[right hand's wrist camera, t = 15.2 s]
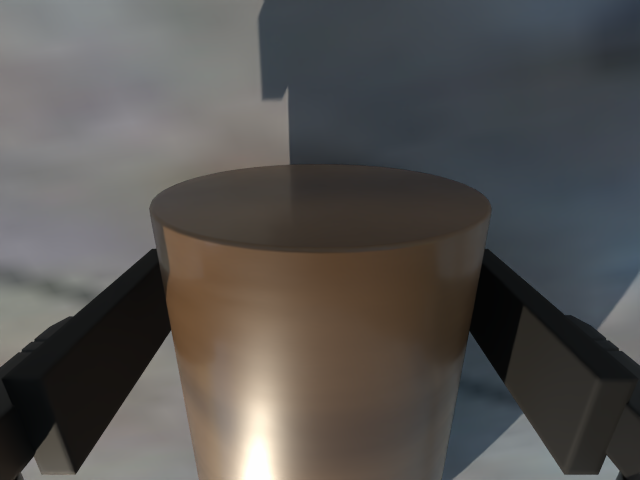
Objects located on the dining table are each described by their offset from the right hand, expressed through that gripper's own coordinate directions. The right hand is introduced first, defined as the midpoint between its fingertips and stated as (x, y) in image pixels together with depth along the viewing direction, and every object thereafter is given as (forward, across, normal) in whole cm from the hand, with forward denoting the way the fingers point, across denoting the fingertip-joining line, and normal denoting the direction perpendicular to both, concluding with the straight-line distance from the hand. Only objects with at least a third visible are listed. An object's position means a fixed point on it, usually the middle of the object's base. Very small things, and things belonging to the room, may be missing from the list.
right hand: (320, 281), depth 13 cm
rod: (+2, 0, -9) cm, 10 cm away
